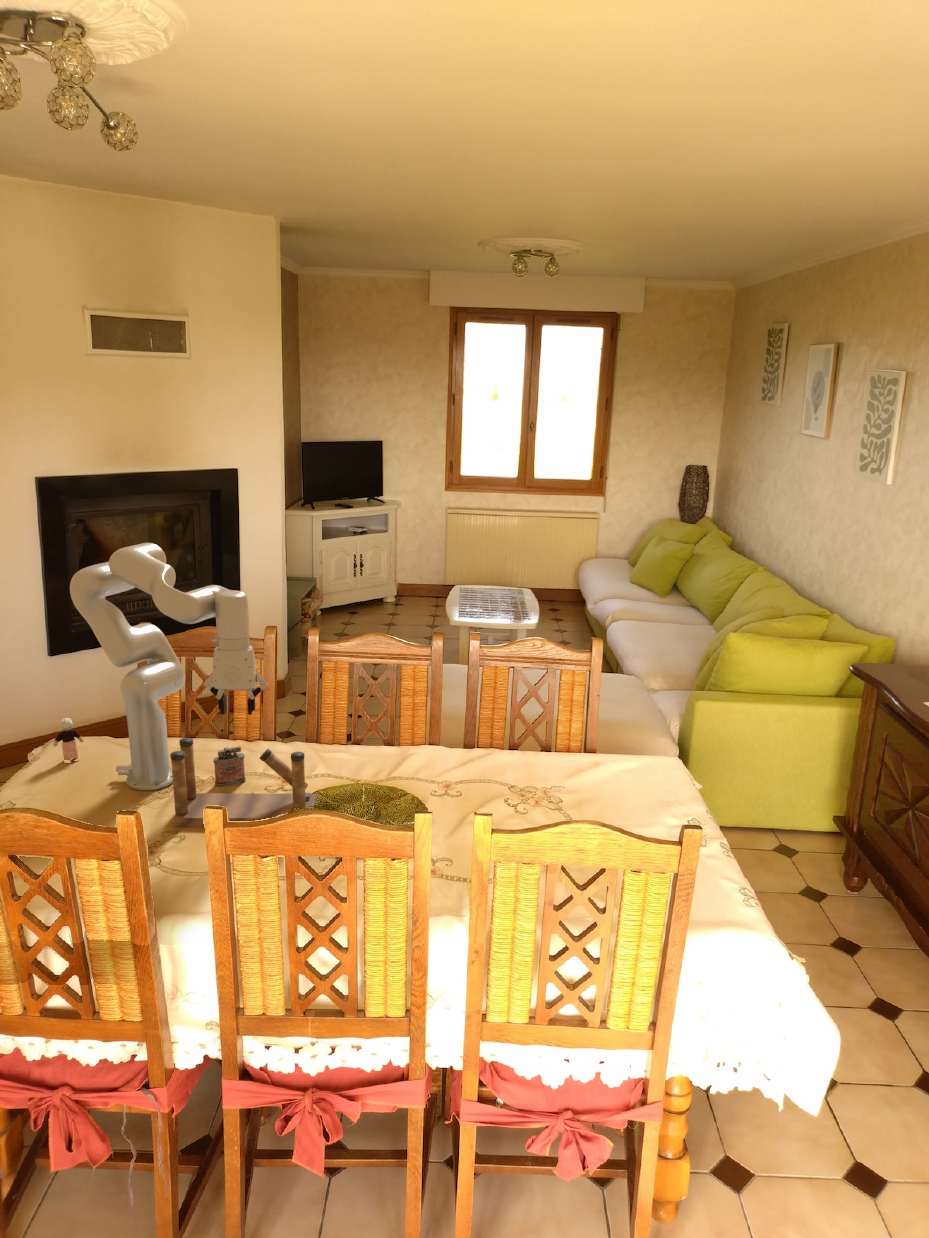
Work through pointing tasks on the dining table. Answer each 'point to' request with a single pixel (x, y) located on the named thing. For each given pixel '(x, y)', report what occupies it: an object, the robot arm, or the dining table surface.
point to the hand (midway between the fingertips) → (237, 712)
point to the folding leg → (278, 766)
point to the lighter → (229, 767)
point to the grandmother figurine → (68, 740)
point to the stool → (236, 803)
